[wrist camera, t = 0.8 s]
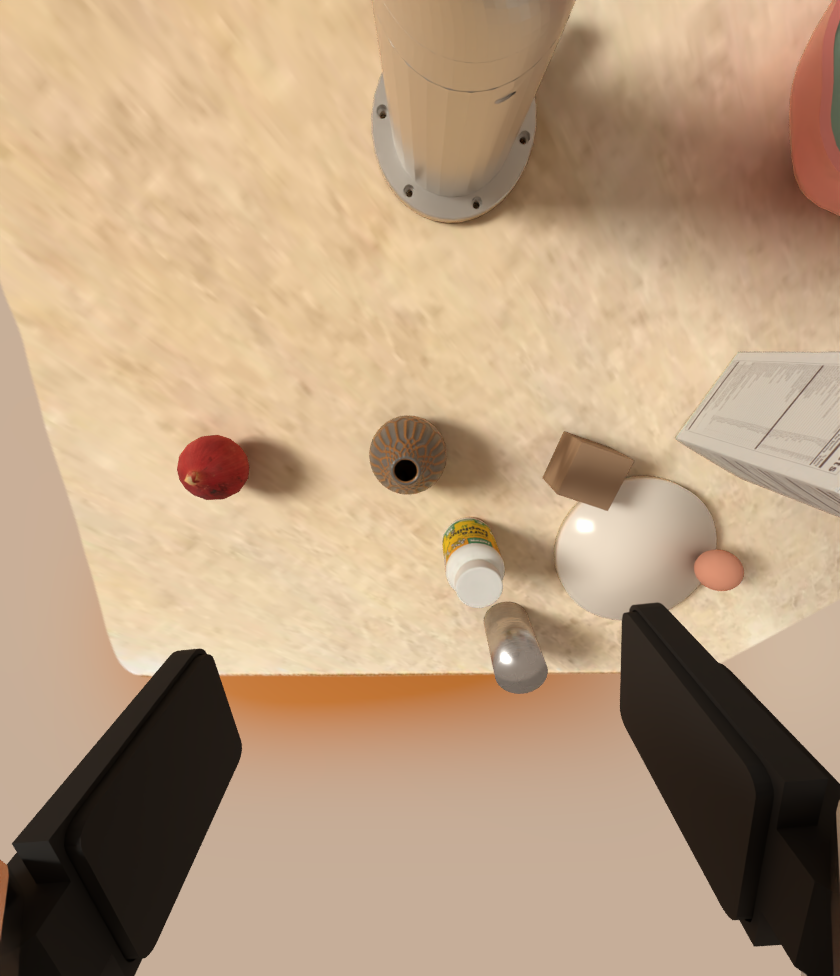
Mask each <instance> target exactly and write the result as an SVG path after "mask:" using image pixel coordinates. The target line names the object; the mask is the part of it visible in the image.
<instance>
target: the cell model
mask: <svg viewBox="0 0 840 976" xmlns="http://www.w3.org/2000/svg"><path fill="white" fill-rule="evenodd" d="M789 137H790V149H791V157H792V165H793V174H794V177H795V180H796V182H797V185H798V187H799V189H800V190H801V192H802V193H803V194H804V195H805V196H806V197H807V198H808V199H809V200H810V201H811V202H813V203H814V204H816V205H817V206H819V207H821V208H823V209H825V210H827V211H829V212H831V213H833V214H836V215H838V216H840V0H832V1H831V3H830V5H829V6H828V8H827V10H826V11H825V13H824V15H823V16H822V18H821V20H820V21H819V23H818V25H817V26H816V28H815V30H814V31H813V33H812V35H811V38H810V40H809V42H808V44H807V46H806V48H805V50H804V52H803V54H802V56H801V59H800V61H799V64H798V66H797V69H796V73H795V76H794V80H793V83H792V88H791V95H790V106H789Z"/></svg>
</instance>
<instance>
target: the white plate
mask: <svg viewBox="0 0 840 976" xmlns="http://www.w3.org/2000/svg"><path fill="white" fill-rule="evenodd" d="M716 541H717V536H716V528H715V524H714V520H713V518H712V516H711V514H710V512H709V510H708V509H707V507H706V506H705V504H704V503H703V502H702V501H701V500H700V499H699V498H698V497H697V496H696V495H694V494H693V493H692V492H690V491H689V490H687V489H685V488H683V487H681V486H680V485H678V484H676V483H674V482H671V481H669V480H666V479H663V478H658V477H652V476H632V477H626V478H625V479H624V481H623V483H622V485H621V487H620V489H619V491H618V493H617V495H616V497H615V499H614V500H613V502H612V504H611V506H610V508H609V510H608V511H605V510H603V509H600V508H597V507H594V506H591V505H588V504H585V503H582V502H578V503H577V504H576V505H575V506H574V507H573V508H572V509H571V510H570V511H569V513H568V514H567V516H566V517H565V519H564V520H563V522H562V524H561V526H560V528H559V531H558V534H557V536H556V541H555V545H554V564H555V568H556V572H557V575H558V577H559V579H560V581H561V583H562V585H563V586H564V588H565V590H566V591H567V593H568V595H569V596H570V597H571V598H572V599H573V600H574V601H575V602H576V603H577V604H578V605H579V606H580V607H582V608H583V609H585V610H586V611H588V612H590V613H592V614H594V615H597V616H600V617H603V618H607V619H612V620H622V616H623V613H626V612H629V609H630V607H631V606H632V605H637V604H646V603H656V602H658V603H661V604H662V605H664V606H665V607H666V608H667V609H668V610H669V609H671V608H672V607H674V606H676V605H677V604H679V603H680V602H682V601H683V600H684V599H686V598H687V597H688V596H689V595H690V594H691V593H692V592H693V591H694V590H695V589H696V588H697V587H698V586H699V585H700V583H701V582H700V581H699V580H698V579H697V577H696V575H695V572H694V564H695V561H696V559H697V558H698V557H699V556H700V555H701V554H702V553H704V552H706V551H709V550H716Z"/></svg>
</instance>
